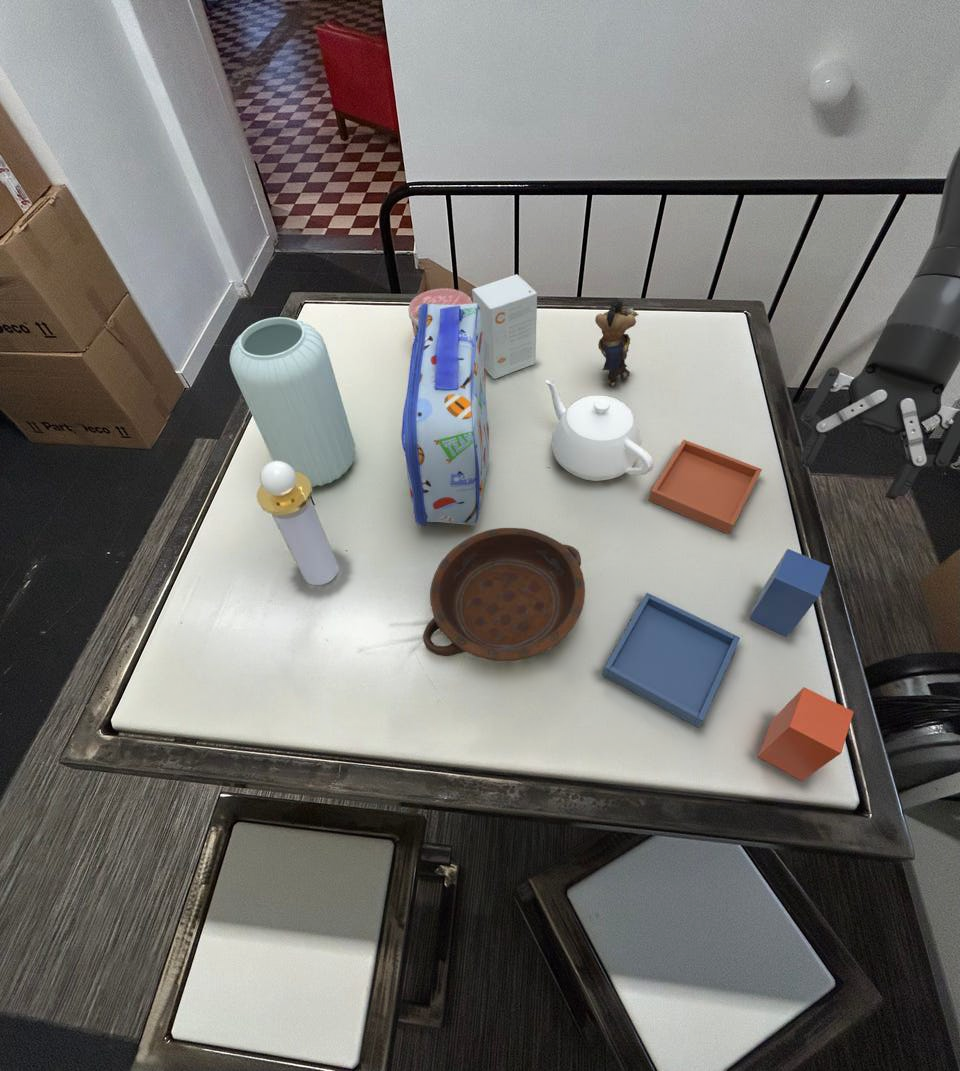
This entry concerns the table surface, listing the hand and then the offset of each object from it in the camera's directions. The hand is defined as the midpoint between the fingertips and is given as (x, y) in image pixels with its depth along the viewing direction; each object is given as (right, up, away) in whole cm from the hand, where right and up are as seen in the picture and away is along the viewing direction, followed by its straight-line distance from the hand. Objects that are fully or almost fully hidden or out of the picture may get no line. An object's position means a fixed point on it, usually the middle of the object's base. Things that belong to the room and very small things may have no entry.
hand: (847, 482), depth 65 cm
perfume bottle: (-60, -11, +13) cm, 62 cm away
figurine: (-19, +19, +33) cm, 42 cm away
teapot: (-23, +6, +23) cm, 33 cm away
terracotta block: (-8, -28, -3) cm, 29 cm away
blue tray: (-18, -20, +4) cm, 27 cm away
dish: (-36, -15, +9) cm, 40 cm away
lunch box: (-43, +4, +23) cm, 49 cm away
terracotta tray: (-9, +1, +18) cm, 20 cm away
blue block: (-5, -15, +7) cm, 17 cm away
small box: (-35, +23, +37) cm, 56 cm away
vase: (-63, +4, +24) cm, 68 cm away
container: (-45, +26, +40) cm, 66 cm away
